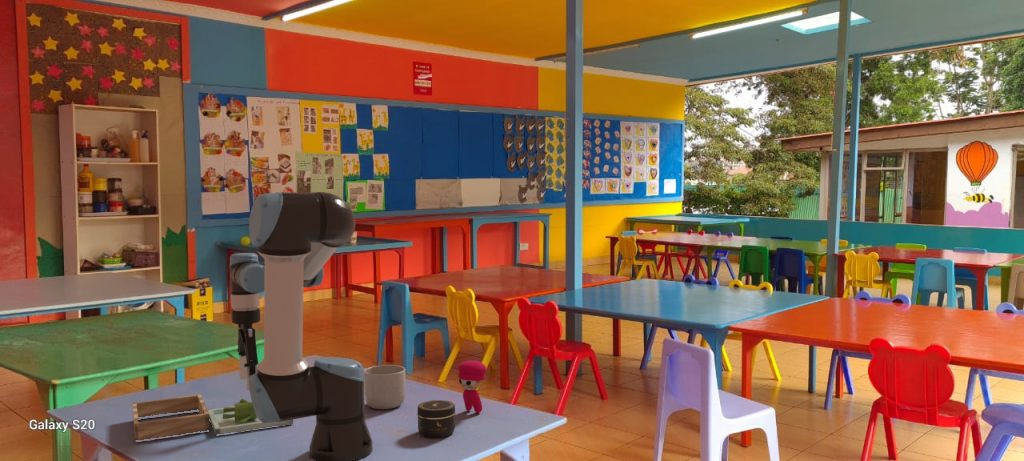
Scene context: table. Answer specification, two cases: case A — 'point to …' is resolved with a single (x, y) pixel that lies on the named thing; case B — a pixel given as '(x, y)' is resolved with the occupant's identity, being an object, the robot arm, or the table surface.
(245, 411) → the character figure
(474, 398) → the toy
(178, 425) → the bin
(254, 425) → the tray
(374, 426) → the table surface
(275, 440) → the table surface
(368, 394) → the planter
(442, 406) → the jar
